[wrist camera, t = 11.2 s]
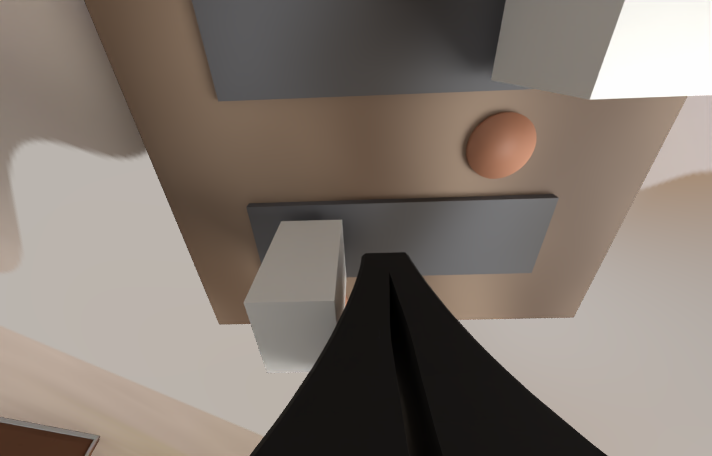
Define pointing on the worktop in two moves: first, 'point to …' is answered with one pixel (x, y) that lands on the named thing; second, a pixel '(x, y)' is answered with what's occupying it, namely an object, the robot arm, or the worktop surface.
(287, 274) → the knob
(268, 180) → the switch board
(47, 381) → the worktop surface
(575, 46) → the knob
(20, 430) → the food container
